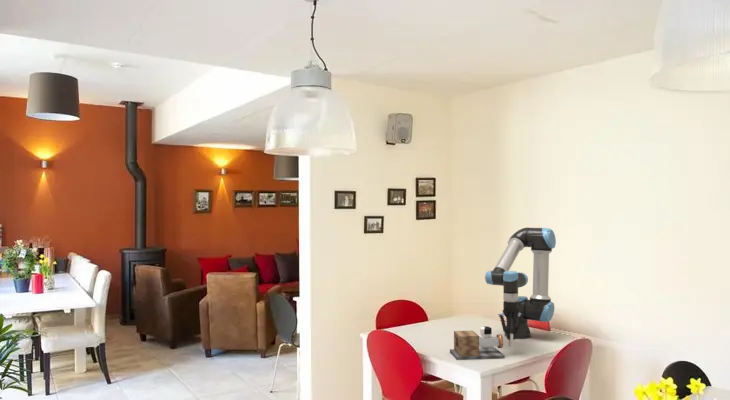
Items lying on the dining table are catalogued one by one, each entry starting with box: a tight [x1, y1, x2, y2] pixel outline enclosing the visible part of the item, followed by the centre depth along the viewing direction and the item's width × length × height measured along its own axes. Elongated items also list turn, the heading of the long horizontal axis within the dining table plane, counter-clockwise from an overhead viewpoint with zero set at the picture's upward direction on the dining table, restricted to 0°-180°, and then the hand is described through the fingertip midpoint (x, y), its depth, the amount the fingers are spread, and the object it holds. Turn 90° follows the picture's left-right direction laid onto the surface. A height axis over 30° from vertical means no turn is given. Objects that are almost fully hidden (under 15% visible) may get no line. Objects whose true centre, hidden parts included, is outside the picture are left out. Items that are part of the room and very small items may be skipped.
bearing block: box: [449, 330, 506, 361], centre depth 283 cm, size 25×14×12 cm, turn 95°
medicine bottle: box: [478, 326, 495, 349], centre depth 295 cm, size 7×7×12 cm
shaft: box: [479, 333, 504, 349], centre depth 284 cm, size 18×7×7 cm, turn 95°
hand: (510, 345), depth 285 cm, fingers closed
